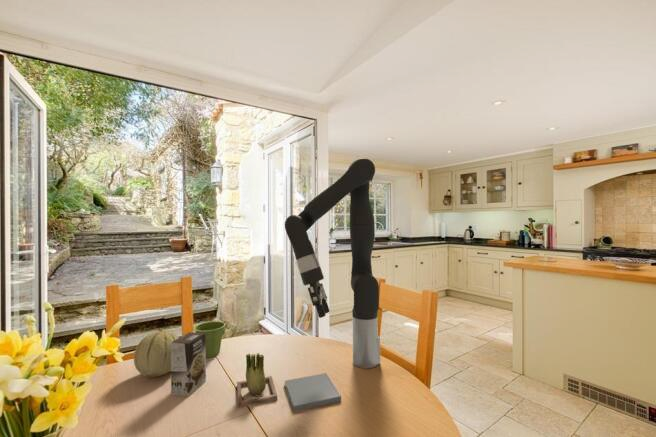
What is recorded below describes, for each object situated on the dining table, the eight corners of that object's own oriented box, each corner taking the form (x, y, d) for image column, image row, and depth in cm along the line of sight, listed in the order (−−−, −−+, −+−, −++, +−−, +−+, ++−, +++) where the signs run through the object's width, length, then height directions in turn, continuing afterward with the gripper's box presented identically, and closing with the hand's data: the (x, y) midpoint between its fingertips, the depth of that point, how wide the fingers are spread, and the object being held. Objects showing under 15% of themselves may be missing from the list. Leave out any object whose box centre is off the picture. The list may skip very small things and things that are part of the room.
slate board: (326, 377, 101) (326, 373, 101) (341, 401, 87) (341, 396, 87) (284, 385, 96) (284, 380, 96) (293, 411, 83) (293, 406, 83)
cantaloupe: (138, 391, 94) (137, 343, 94) (130, 373, 105) (130, 330, 105) (188, 374, 104) (187, 331, 104) (176, 360, 115) (176, 320, 115)
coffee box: (188, 397, 90) (188, 343, 90) (170, 394, 92) (169, 342, 92) (206, 381, 99) (206, 332, 99) (189, 379, 101) (189, 331, 101)
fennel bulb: (244, 392, 92) (243, 353, 92) (257, 385, 96) (256, 348, 96) (255, 399, 89) (254, 359, 89) (268, 392, 92) (268, 353, 92)
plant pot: (232, 351, 122) (231, 323, 122) (206, 363, 112) (206, 333, 112) (213, 345, 128) (213, 319, 128) (187, 356, 118) (187, 327, 118)
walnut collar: (271, 379, 100) (271, 375, 100) (277, 399, 88) (277, 395, 88) (237, 385, 96) (237, 381, 96) (238, 407, 85) (238, 403, 85)
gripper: (315, 266, 98) (332, 314, 95) (323, 265, 112) (337, 308, 109) (294, 273, 99) (310, 322, 96) (304, 272, 113) (318, 314, 110)
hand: (324, 314), depth 102 cm, fingers open, 8 cm apart
